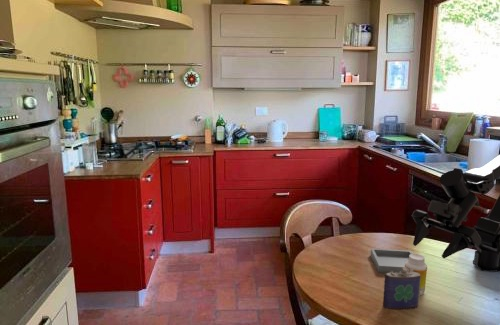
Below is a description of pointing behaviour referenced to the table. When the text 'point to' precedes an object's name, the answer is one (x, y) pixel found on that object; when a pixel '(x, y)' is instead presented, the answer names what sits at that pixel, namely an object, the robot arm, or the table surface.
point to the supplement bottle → (417, 269)
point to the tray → (389, 260)
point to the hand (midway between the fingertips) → (427, 251)
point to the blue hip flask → (401, 290)
